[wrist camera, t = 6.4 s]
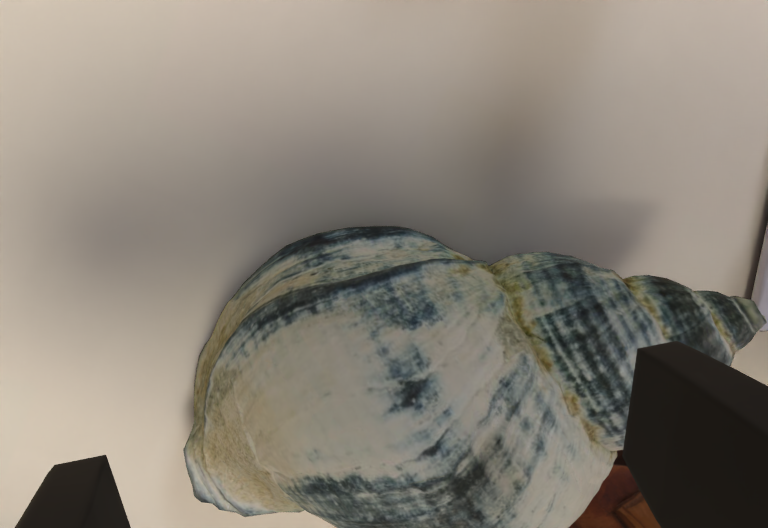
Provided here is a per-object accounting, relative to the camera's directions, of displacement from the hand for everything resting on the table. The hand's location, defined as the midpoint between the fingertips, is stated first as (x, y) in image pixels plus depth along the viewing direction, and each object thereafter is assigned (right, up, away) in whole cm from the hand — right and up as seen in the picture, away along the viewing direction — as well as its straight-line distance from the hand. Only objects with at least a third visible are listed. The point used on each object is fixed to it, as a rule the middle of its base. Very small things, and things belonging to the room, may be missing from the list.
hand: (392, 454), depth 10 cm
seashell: (+1, +1, +10) cm, 10 cm away
